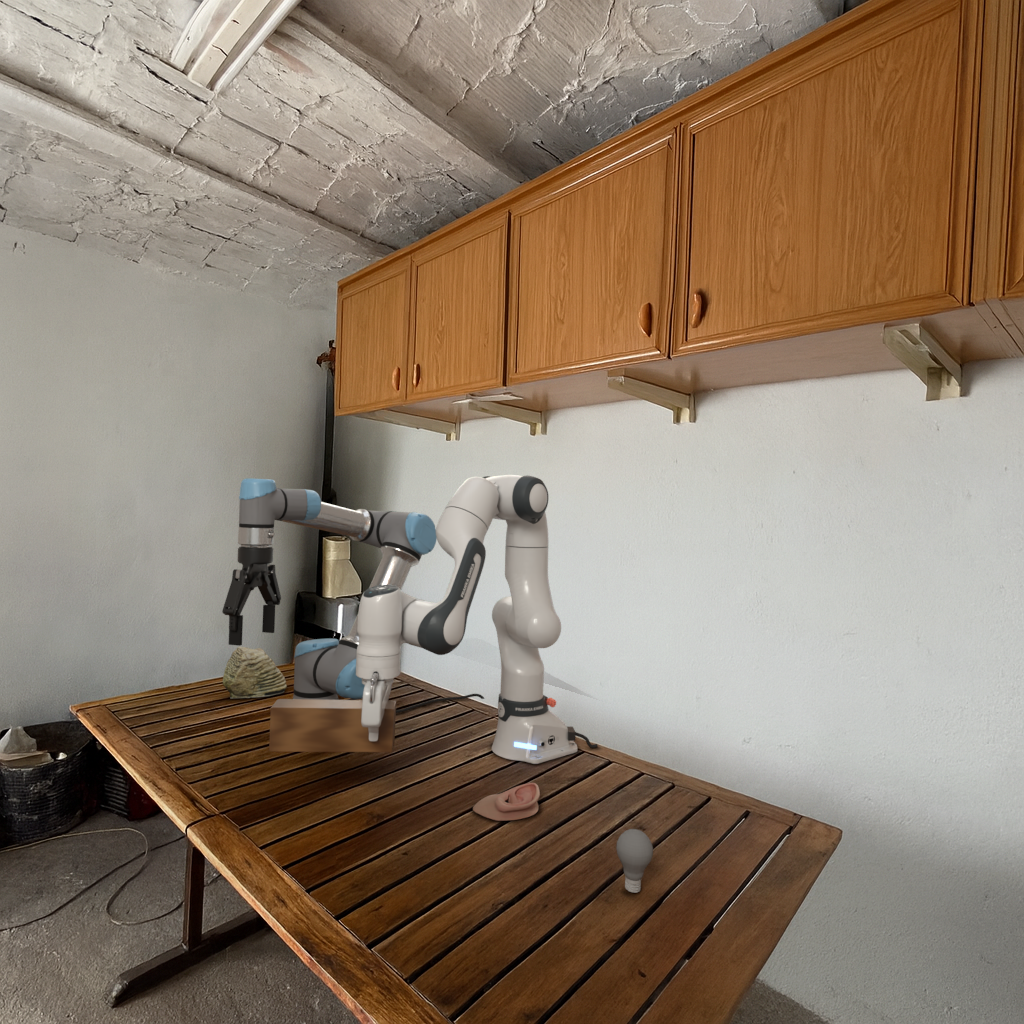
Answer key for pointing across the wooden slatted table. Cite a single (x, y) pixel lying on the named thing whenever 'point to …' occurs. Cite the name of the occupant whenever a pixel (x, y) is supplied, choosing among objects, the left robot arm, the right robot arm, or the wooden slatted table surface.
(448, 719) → the wooden slatted table surface
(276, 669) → the fossil
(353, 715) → the bar
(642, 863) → the light bulb
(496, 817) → the anatomical model
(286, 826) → the wooden slatted table surface
